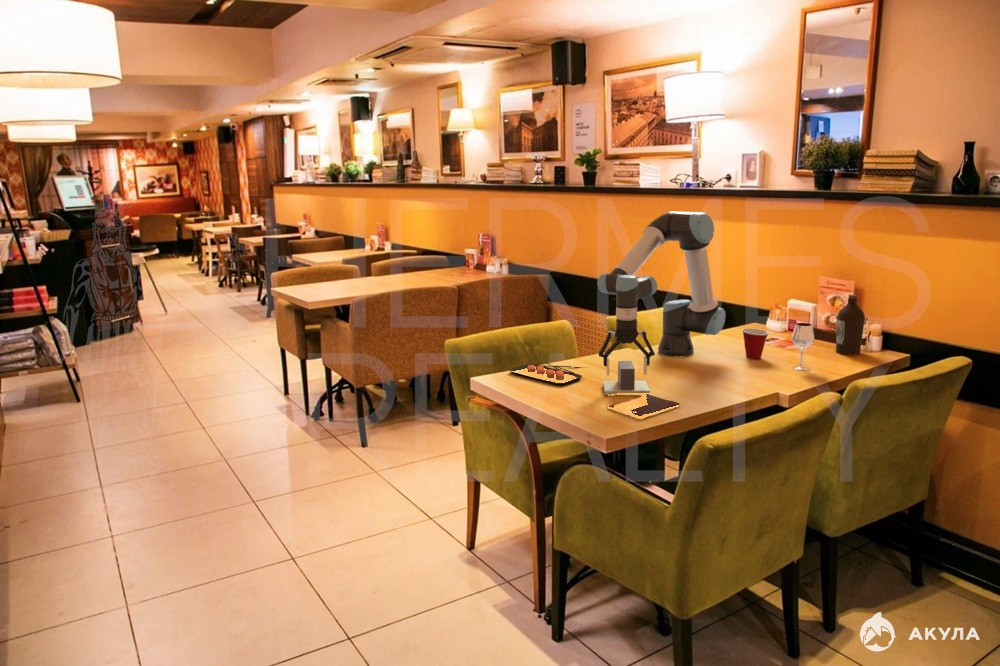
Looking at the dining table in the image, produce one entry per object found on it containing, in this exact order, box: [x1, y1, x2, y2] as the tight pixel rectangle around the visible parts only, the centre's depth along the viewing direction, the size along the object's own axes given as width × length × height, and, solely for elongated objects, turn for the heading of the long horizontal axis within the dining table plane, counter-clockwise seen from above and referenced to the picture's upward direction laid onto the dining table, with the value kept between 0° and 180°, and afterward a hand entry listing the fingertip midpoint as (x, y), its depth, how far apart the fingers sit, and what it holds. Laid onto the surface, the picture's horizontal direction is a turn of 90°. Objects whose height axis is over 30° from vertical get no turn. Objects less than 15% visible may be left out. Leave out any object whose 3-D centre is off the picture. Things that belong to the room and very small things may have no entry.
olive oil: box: [835, 294, 866, 356], centre depth 303 cm, size 11×11×25 cm
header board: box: [602, 380, 651, 396], centre depth 264 cm, size 12×16×6 cm
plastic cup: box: [741, 327, 770, 361], centre depth 301 cm, size 11×11×12 cm
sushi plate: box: [509, 362, 583, 385], centre depth 291 cm, size 29×30×4 cm
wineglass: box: [791, 322, 815, 371], centre depth 284 cm, size 8×8×18 cm
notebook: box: [608, 394, 680, 416], centre depth 246 cm, size 15×20×2 cm
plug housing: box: [617, 360, 636, 390], centre depth 264 cm, size 11×5×8 cm, turn 176°
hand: (626, 374), depth 264 cm, fingers open, 13 cm apart
